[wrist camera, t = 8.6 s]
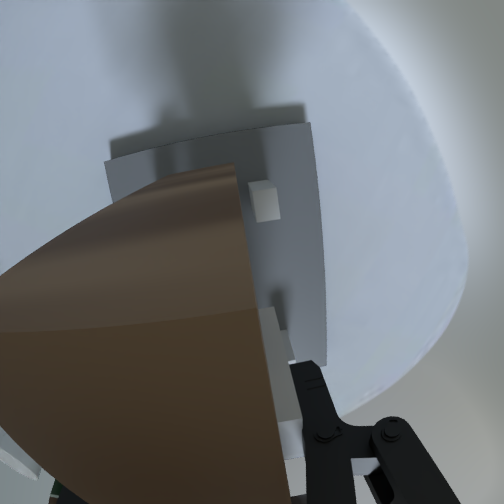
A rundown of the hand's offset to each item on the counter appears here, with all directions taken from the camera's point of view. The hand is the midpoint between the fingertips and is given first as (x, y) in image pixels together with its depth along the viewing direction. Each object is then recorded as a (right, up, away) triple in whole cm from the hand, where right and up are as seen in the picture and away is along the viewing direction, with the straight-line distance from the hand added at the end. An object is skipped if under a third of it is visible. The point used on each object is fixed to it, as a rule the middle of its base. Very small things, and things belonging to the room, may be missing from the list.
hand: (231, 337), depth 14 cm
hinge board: (-1, +3, +7) cm, 7 cm away
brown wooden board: (0, 0, +2) cm, 2 cm away
